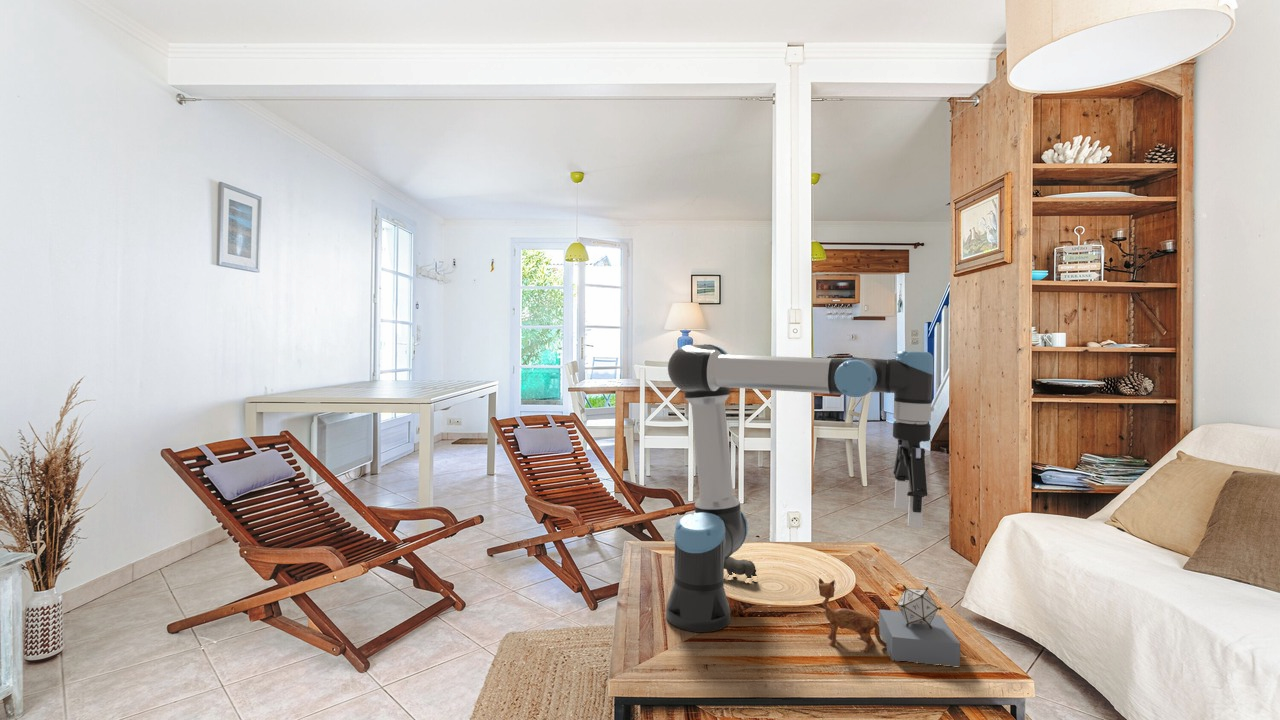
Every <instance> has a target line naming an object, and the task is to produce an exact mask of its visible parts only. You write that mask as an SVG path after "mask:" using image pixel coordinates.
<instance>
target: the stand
mask: <svg viewBox="0 0 1280 720" xmlns="http://www.w3.org/2000/svg"><path fill="white" fill-rule="evenodd" d="M878 612H879V613H878V625H879V628H880V637H881V639H882V640H883V641H884V642H885V643H886V647H885V649H886V651H887V653H888V655H890V656H889V658H890V660H891V661H893V662H899V661H908V662H918V663H925V664H924V665H927V664H939V665H940V664H941V665H950V666H959V667H961V642H960V641H959V639H958V637H956V636H955V634H954V632H953V630H952V629H951V628H950V626H949V625H948V624H947V622H946V621H945V619H944V618H943V617H942V615H941V614H935V616H934V618H933V620H932V622H931V624H930V625H931V626H932V629H931V628H930V627H929V625H919V624H909V626H908V627H906V624H907V621H906V619H905V618H904V616H903V614H902V612H901V611H900V610H889V609H881V608H880V609H879V611H878ZM894 660H895V661H894ZM908 662H907V663H908ZM918 663H917V664H918Z"/></svg>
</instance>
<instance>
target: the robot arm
mask: <svg viewBox="0 0 1280 720" xmlns="http://www.w3.org/2000/svg"><path fill="white" fill-rule="evenodd" d="M667 372H668V377H669V379H670V381H671V382H672V384H673V385H674V386H675V387H676V388H678V389H679V390H682V391H683V392H684V400H685V401H687V402H688V403H689V404H690V405H691V406H690V407H691V414H692V425H693V428H692V429H693V437H694V447H695V448H694V450H695V459H696V467H697V468H696V469H697V480H698V491H699V497H698V499H697V500H696V502H695V503H694V512H693V513H692V514H691V513H687V514H686V515H684V516H681V517H680V518H679V519H678V521H677V522H676V523H675V531H674V536H673V541H674V560H673V561H674V563H673V564H674V566H673V568H674V570H673V573H674V574H673V585H672V588H671V591H670V594H669V596H668V600H667V603H666V605H665V606H666V607H665V618H666V620H667V621H668V622H669V623H670V624H671V625H672V626H675V628H678V629H681V630H684V631H689V632H696V633H711V632H716V631H719V630H722V629H724V628H726V627H727V626H728V625H729V624H730V622H731V608H730V605H729V601H728V597H727V594H726V591H725V588H724V586H725V585H724V578H725V577H724V576H725V575H724V573H725V572H724V571H725V569H724V561H725V560H726V559H727V558H728V557H732V555H733V554H734V553H735V552H737V551H738V550H739V549H740V548H741V547H742V546H743V545H744V542H745V540H746V539H747V537H748V532H749V524H748V521H747V517H746V515H745V514H744V513H743V511H742V508H741V502H740V499H738V498H737V497H736V496H735V495H734V490H733V488H734V487H733V478H732V477H733V475H732V467H731V457H730V446H729V444H730V443H729V436H728V435H729V434H728V433H729V432H728V423H727V422H728V421H727V413H726V411H727V410H726V401H727V399H728V398H730V396H731V391H730V389H746V390H747V389H749V390H762V391H763V390H766V391H778V392H779V391H781V392H782V391H783V392H796V393H797V392H799V393H813V394H815V393H816V394H828V395H829V394H830V395H831V394H832V395H840V396H841V395H842V396H843V395H844V396H847V397H851V398H861V397H865V396H867V395H868V394H869V393H885V394H890V393H891V394H894V401H893V415H892V417H893V419H894V422H892V423H893V425H892V437H893V439H896V440H897V449H896V456H895V461H894V466H893V472H892V473H893V476H894V478H895V483H894V503H893V504H894V506H893V507H894V509H895V510H908V512H907V513H908V514H907V527H912V528H923V523H924V522H923V519H924V518H923V517H924V503H925V502H924V499H925V497H927V496H928V488H927V472H926V461H925V456H926V450H925V448H921V442H928V441H930V440H931V430H932V429H931V427H932V426H931V424H930V423H928V422H931V420H932V412H934V411H935V408H934V407H932V402H933V388H934V387H933V386H934V355H932V353H931V352H928V351H914V350H913V351H912V350H910V351H908V350H899V351H897V352H896V355H895V358H892V359H891V358H890V359H889V358H888V359H884V358H882V359H881V358H864V357H844V358H824V357H821V358H820V357H802V356H801V357H797V356H776V355H775V356H774V355H773V356H772V355H771V356H769V355H747V354H746V355H745V354H743V355H741V354H729V353H728V352H727V351H725V349H723V348H721V347H719V346H717V345H714V344H710V343H709V344H686V345H683V346H681V347H678V348H677V349H676V350H675V351H674V352H672V354H671V356H670V358H669V360H668V363H667Z"/></svg>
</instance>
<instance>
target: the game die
mask: <svg viewBox="0 0 1280 720" xmlns="http://www.w3.org/2000/svg"><path fill="white" fill-rule="evenodd" d="M902 588H903V589H904V590H903V593H902V594H901V596H900V598H899V601H898V602H897V603H893V605H894V606H895V607H898V609H899V611H901V612H902V614H903V616H904V618H905V619H906V621H907V624H906V627H908V626H909V624H919V625H929V627H930V628H931V629H932V626H931V625H930V624H931V622H932V620H933V618H934V616H935V615H937V612H938V610H940V611H941V610H942V609H943V607H941V606H939V607H938V605H937V604H936V603H935V601H934V599H933V597H932V596H931V594H930V593H929V591H928V590H929V586H926V587H925V589H921V588H907V586H906V585H904V584H902Z"/></svg>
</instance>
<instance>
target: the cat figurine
mask: <svg viewBox="0 0 1280 720" xmlns="http://www.w3.org/2000/svg"><path fill="white" fill-rule="evenodd" d="M835 583H836V581H835V580H832V581H831V582H829V583H827V582H824V581H823V580H822V578H819V579H818V590H819V596H821V597H822V598H825V599H824V600H823V601H822V602H821V605H822V607H823V608H824V609H825V610H824V613H825V614H824V615H825V617H826V619H827V621H828V622H829V626H830V632H829V634H828V635H827V636H826V638H827V639H831V641H830V642H829V643H828V646H831V647H832V646H833V647H834V646H835V645H836V643H837V632H838V629H839V627H841V628H843V629H847V630H850V631H853V632H855V633H857V634H858V635H859V636H860V637H857V638H856V639H858V640H862V641H864V642H865V643H866V644H867V645H866V647H865V648H864V649H863V650H860V652H862V651H864V652H863V653H868V652H869V651H870V650H871V649H872V648H873V647H874V646H875V645H876V644H875V641H874V640H873V638H872V635H871V631H872V630H873V629H874V635H875V638H876V640H877V641H878V644H880V645H881V646H882V647H883V648H886V643H885V642H884V641H883V640H882V637H881V635H880V628H879V622H878V621H877V620H876V619H875V618H874V617H872V616H871V615H870V614H867V613H866V612H860V611H857V610H854V609H850V608H845V607H844V608H836V609H833V608H830V607H828V603H829V601H830V599H832V598H834V597H835V591H836V589H835ZM867 651H868V652H867Z"/></svg>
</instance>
